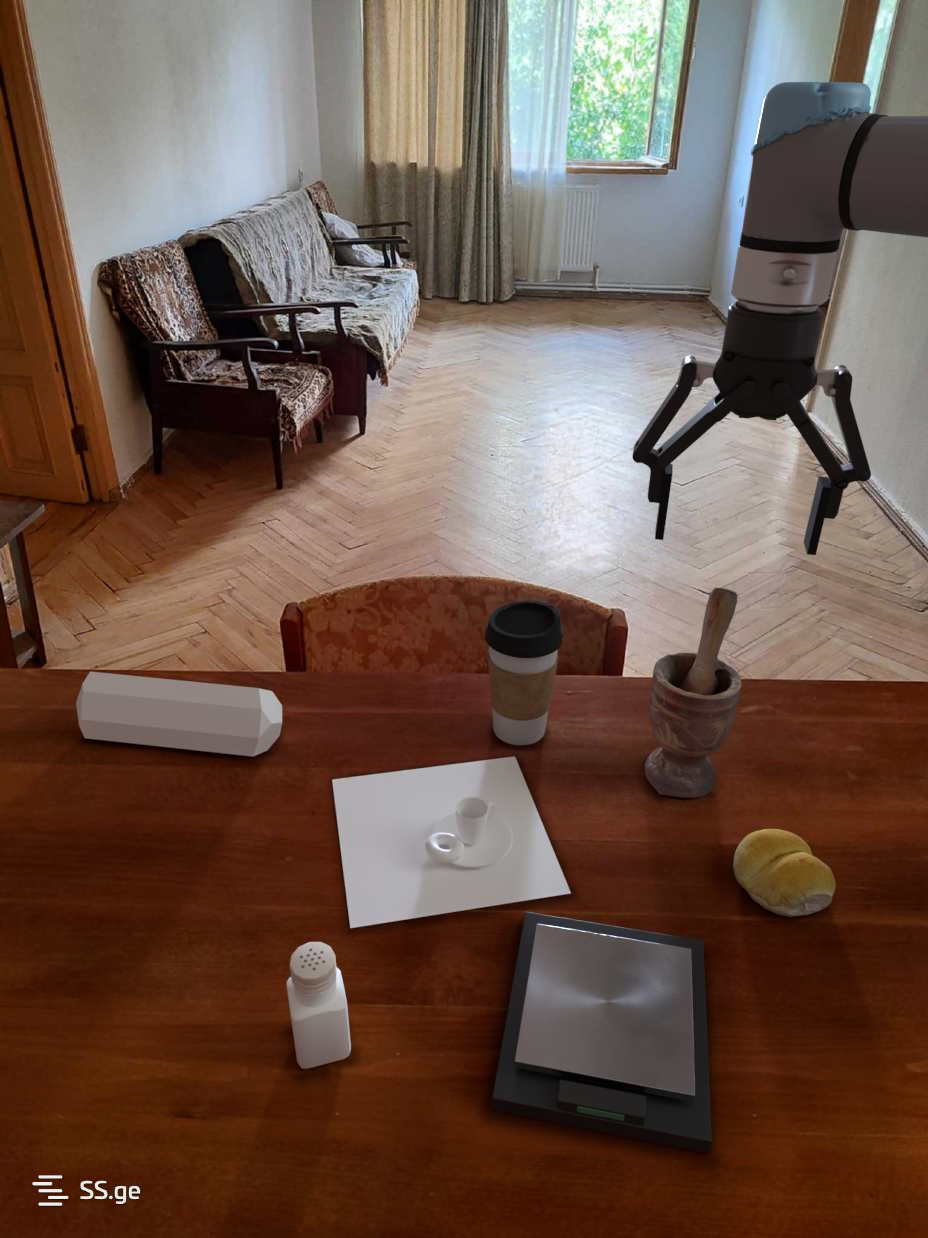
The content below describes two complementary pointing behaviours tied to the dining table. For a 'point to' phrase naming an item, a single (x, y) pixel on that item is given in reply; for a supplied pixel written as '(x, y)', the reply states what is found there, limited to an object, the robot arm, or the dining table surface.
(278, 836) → the dining table surface
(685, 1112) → the scale
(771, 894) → the bread roll
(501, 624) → the coffee cup
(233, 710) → the crystal
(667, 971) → the scale pan
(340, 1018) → the salt shaker
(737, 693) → the mortar and pestle
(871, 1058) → the dining table surface
